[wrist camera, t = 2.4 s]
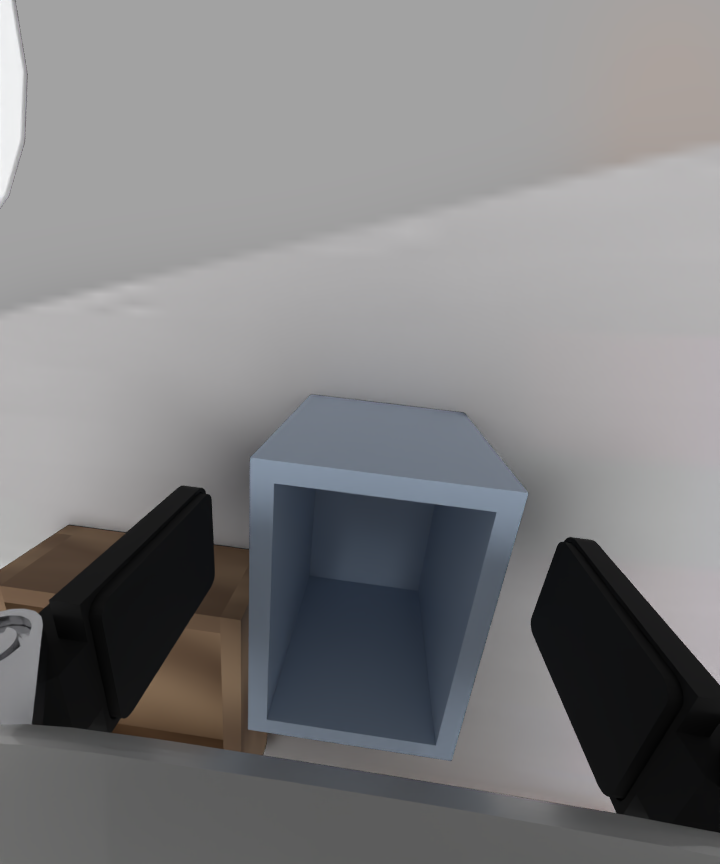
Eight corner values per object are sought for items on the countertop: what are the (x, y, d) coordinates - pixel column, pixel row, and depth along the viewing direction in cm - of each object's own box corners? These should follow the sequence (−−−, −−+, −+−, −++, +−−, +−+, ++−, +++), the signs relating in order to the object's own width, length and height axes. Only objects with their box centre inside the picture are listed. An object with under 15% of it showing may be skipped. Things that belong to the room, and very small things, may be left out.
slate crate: (427, 593, 15) (451, 761, 9) (299, 575, 15) (247, 729, 10) (464, 412, 13) (528, 492, 7) (311, 394, 13) (250, 457, 7)
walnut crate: (266, 741, 19) (241, 833, 16) (102, 716, 19) (43, 800, 16) (273, 553, 15) (240, 620, 12) (67, 524, 15) (-20, 583, 12)
